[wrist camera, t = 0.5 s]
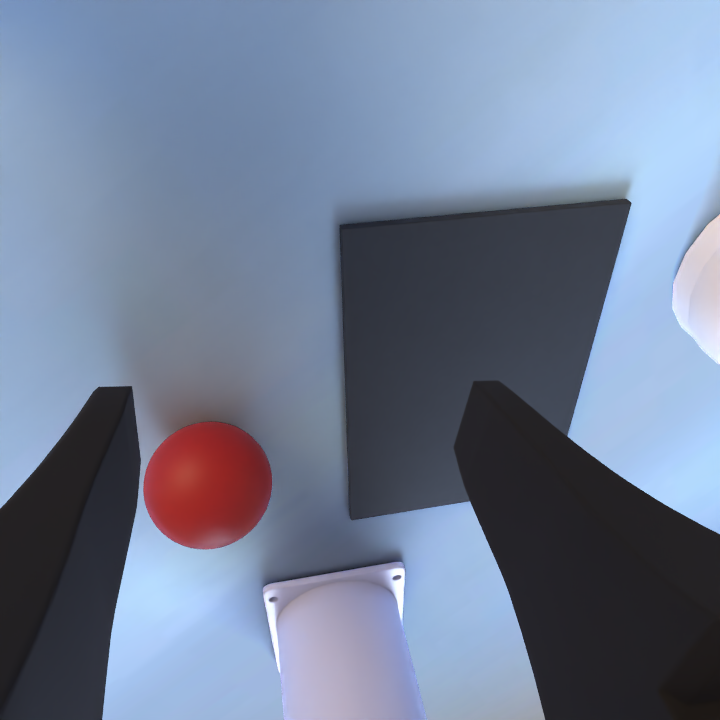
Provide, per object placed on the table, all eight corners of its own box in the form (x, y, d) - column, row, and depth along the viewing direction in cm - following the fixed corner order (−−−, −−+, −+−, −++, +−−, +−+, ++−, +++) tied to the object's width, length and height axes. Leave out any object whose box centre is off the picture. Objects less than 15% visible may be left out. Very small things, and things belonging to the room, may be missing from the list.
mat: (550, 482, 32) (553, 487, 32) (349, 514, 31) (350, 520, 30) (626, 198, 23) (632, 202, 22) (339, 224, 21) (341, 229, 21)
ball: (273, 471, 28) (282, 563, 24) (163, 487, 27) (153, 585, 23) (261, 389, 25) (269, 479, 21) (136, 405, 24) (121, 501, 20)
